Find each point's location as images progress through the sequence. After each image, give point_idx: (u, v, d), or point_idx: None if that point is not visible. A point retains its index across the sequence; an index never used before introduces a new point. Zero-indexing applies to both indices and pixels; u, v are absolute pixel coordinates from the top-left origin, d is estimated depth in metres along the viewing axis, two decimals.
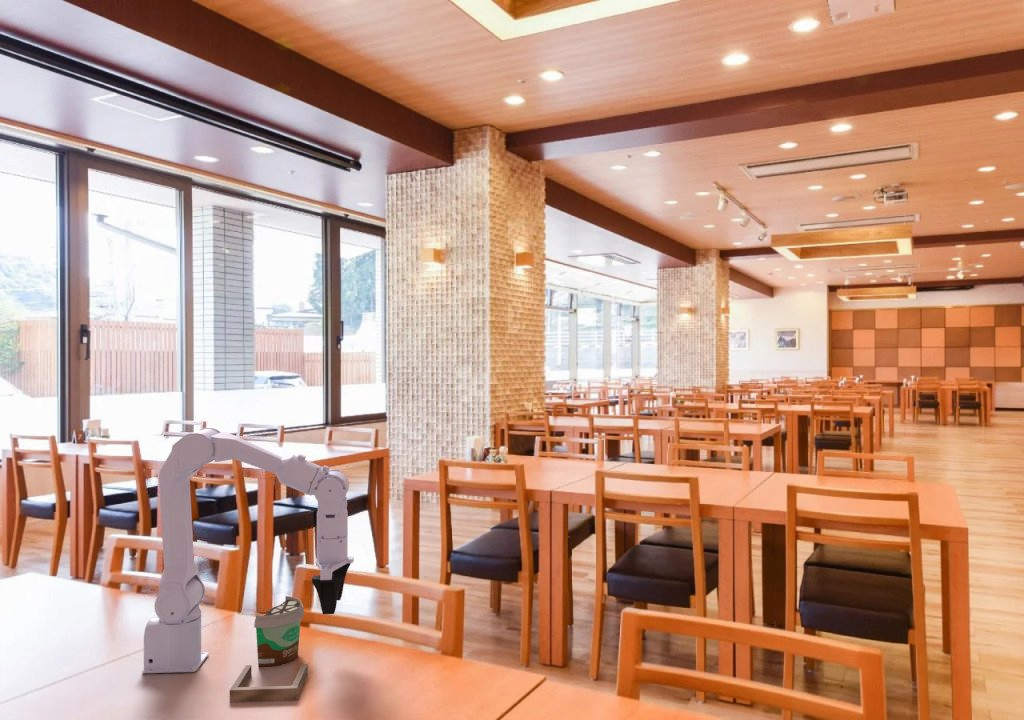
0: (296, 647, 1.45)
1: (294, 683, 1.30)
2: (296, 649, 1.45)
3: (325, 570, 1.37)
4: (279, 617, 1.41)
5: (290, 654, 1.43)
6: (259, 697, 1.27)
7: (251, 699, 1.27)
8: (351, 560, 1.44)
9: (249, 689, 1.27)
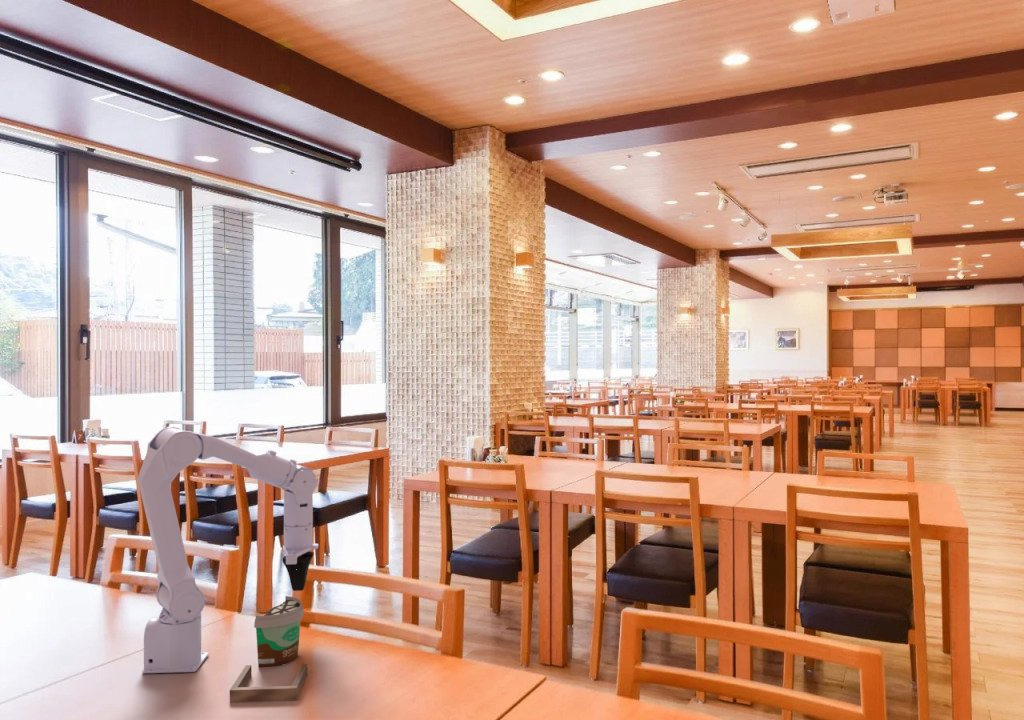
0: (296, 647, 1.45)
1: (294, 683, 1.30)
2: (296, 649, 1.45)
3: (290, 555, 1.49)
4: (279, 617, 1.41)
5: (290, 654, 1.43)
6: (259, 697, 1.27)
7: (251, 699, 1.27)
8: (316, 546, 1.55)
9: (249, 689, 1.27)
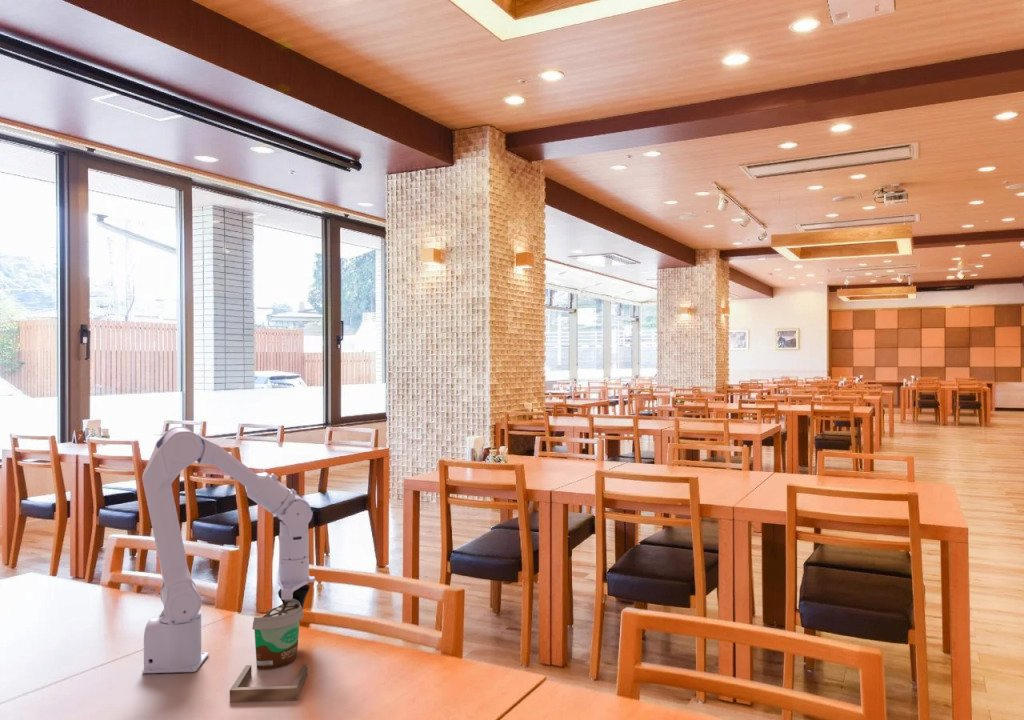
0: (295, 649, 1.44)
1: (294, 683, 1.30)
2: (295, 651, 1.44)
3: (286, 590, 1.45)
4: (277, 619, 1.39)
5: (289, 656, 1.42)
6: (259, 697, 1.27)
7: (251, 699, 1.27)
8: (312, 580, 1.51)
9: (249, 689, 1.27)
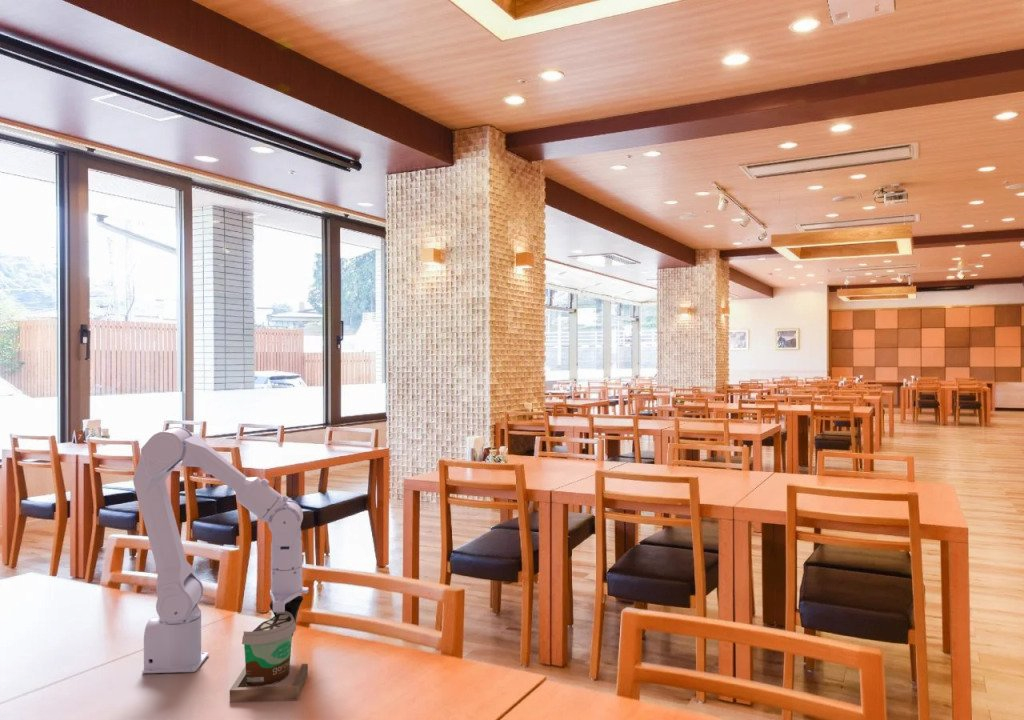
0: (287, 664, 1.37)
1: (294, 683, 1.30)
2: (287, 666, 1.37)
3: (278, 602, 1.38)
4: (268, 633, 1.33)
5: (280, 672, 1.35)
6: (259, 697, 1.27)
7: (251, 699, 1.27)
8: (305, 591, 1.44)
9: (249, 689, 1.27)
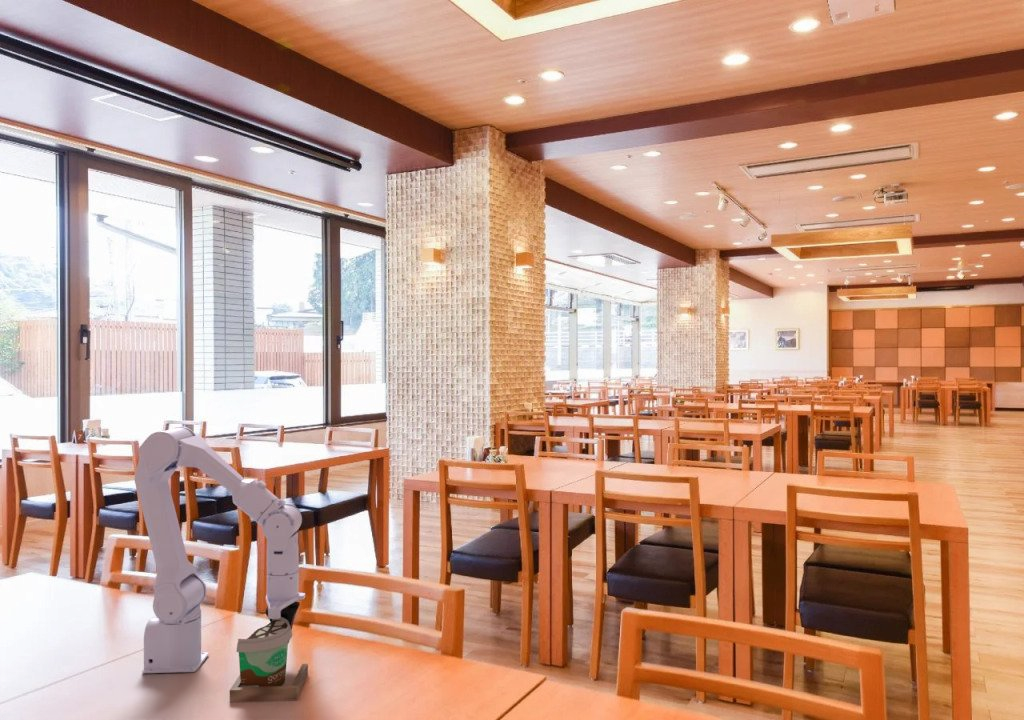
0: (283, 672, 1.34)
1: (294, 683, 1.30)
2: (283, 674, 1.34)
3: (273, 609, 1.35)
4: (264, 640, 1.29)
5: (276, 680, 1.32)
6: (259, 697, 1.27)
7: (251, 699, 1.27)
8: (302, 597, 1.41)
9: (249, 689, 1.27)
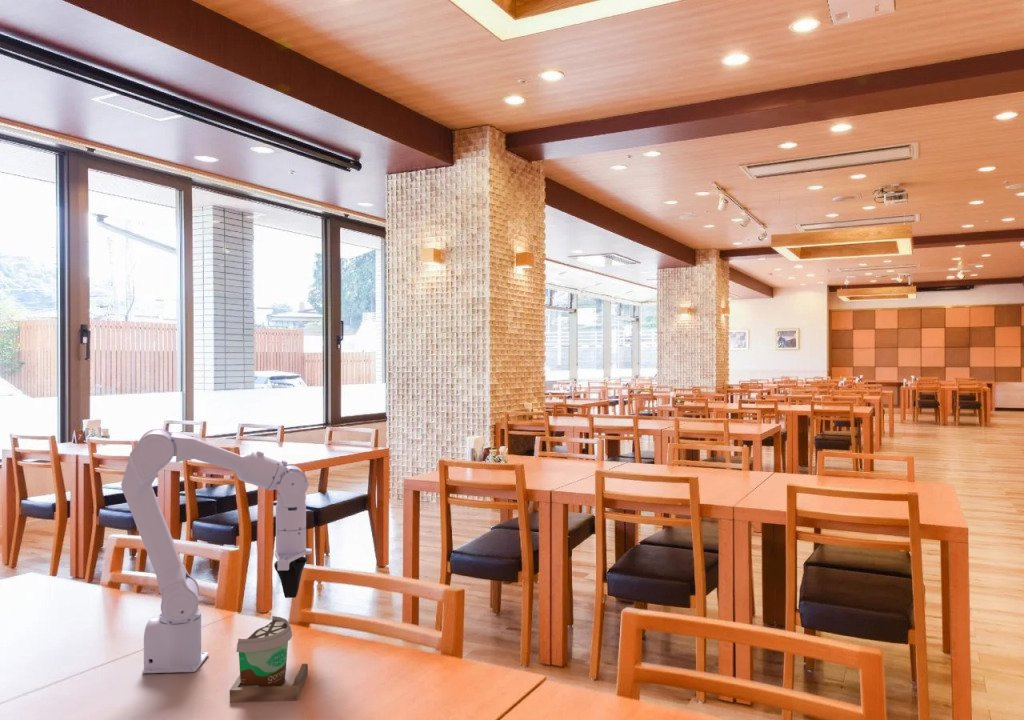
0: (283, 672, 1.34)
1: (294, 683, 1.30)
2: (283, 674, 1.34)
3: (282, 561, 1.42)
4: (264, 640, 1.29)
5: (276, 680, 1.32)
6: (259, 697, 1.27)
7: (251, 699, 1.27)
8: (309, 551, 1.48)
9: (249, 689, 1.27)
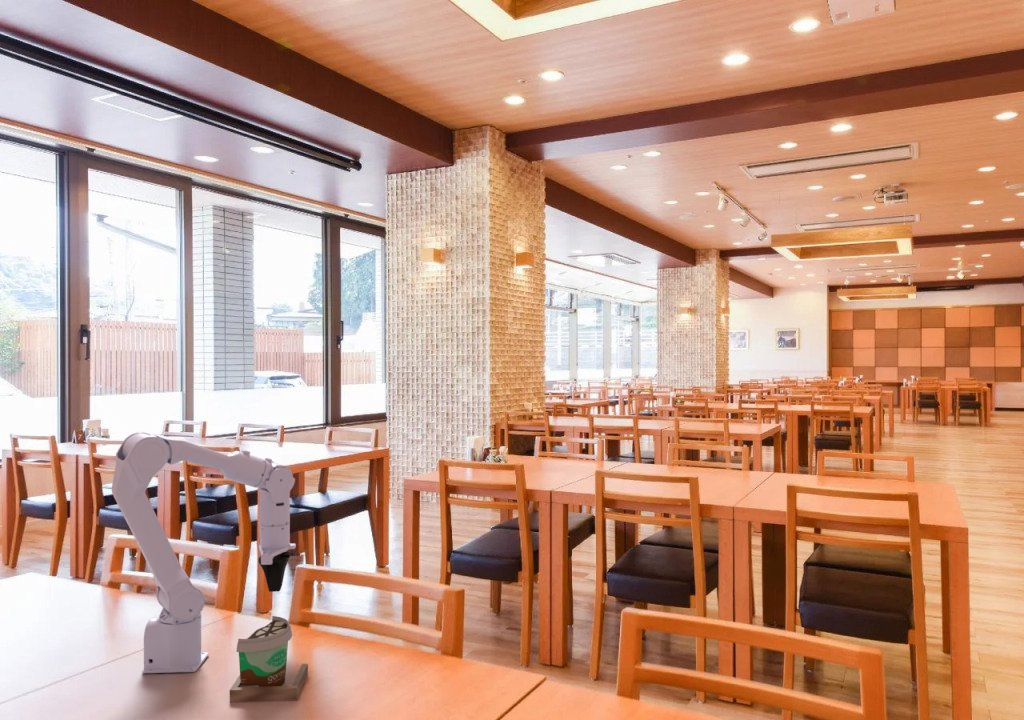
0: (283, 672, 1.34)
1: (294, 683, 1.30)
2: (283, 674, 1.34)
3: (266, 555, 1.46)
4: (264, 640, 1.29)
5: (276, 680, 1.32)
6: (259, 697, 1.27)
7: (251, 699, 1.27)
8: (293, 546, 1.52)
9: (249, 689, 1.27)
